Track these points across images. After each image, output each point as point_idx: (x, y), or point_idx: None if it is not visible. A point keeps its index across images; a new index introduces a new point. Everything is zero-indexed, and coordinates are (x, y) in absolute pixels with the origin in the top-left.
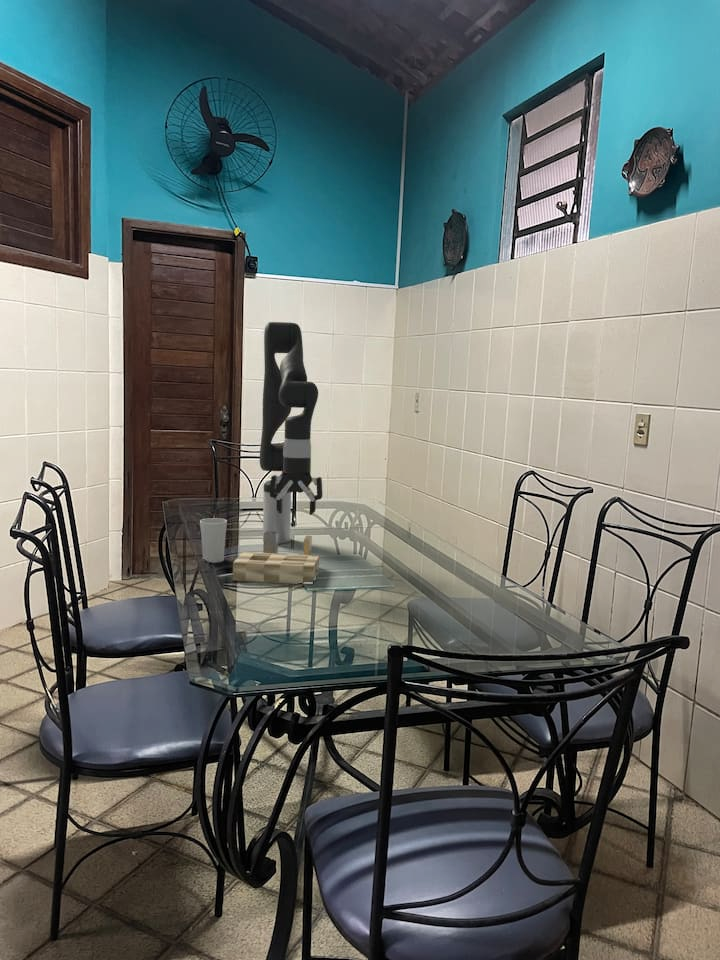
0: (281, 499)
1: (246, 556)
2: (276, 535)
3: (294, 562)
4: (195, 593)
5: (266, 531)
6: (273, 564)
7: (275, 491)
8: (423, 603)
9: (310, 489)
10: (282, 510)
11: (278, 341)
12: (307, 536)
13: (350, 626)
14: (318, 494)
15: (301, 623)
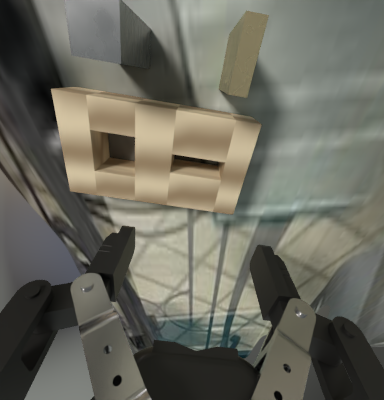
0: (109, 290)
1: (78, 141)
2: (123, 48)
3: (196, 187)
4: (61, 232)
5: (68, 3)
6: (154, 202)
7: (37, 321)
8: (362, 265)
9: (303, 372)
10: (132, 233)
11: None
12: (247, 33)
13: (248, 310)
14: (325, 375)
15: (203, 304)
